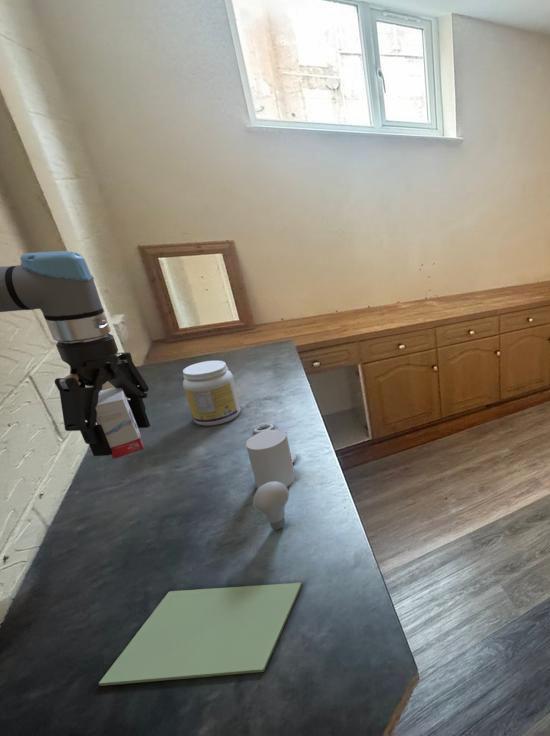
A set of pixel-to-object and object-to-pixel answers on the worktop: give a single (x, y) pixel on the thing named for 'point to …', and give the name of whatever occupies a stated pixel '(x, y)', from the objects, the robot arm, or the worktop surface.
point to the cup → (271, 457)
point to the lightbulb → (272, 502)
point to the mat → (206, 634)
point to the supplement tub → (211, 393)
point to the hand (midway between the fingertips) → (123, 439)
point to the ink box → (118, 422)
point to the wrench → (257, 430)
